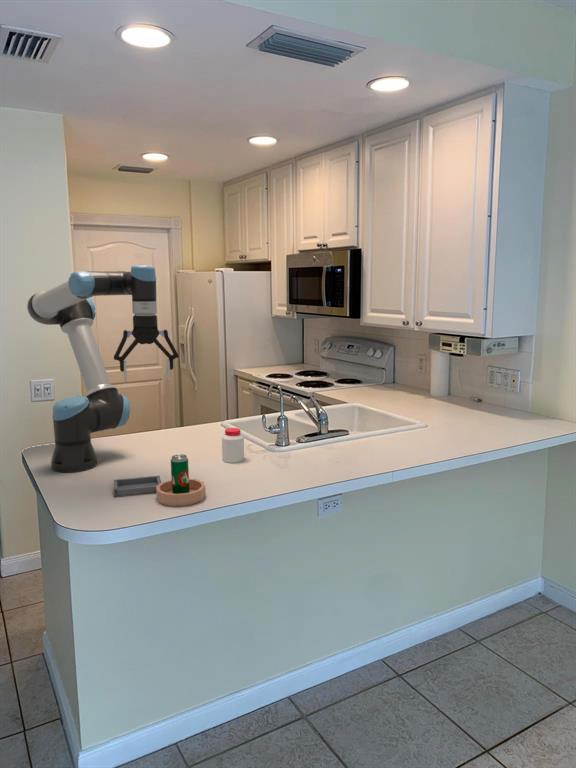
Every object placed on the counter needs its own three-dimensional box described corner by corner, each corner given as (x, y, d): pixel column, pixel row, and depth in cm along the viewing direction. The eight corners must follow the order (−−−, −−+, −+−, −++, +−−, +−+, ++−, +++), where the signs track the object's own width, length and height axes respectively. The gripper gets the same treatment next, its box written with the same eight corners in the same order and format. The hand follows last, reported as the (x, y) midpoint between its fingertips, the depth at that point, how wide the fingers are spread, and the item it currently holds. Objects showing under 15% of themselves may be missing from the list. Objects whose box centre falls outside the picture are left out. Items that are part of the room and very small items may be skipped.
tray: (114, 496, 177) (114, 490, 176) (114, 485, 186) (113, 479, 186) (162, 492, 181) (162, 485, 180) (159, 481, 190) (159, 475, 190)
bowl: (158, 508, 168) (158, 497, 167) (155, 491, 181) (154, 481, 180) (208, 503, 172) (208, 491, 171) (201, 487, 185) (201, 476, 184)
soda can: (173, 492, 179) (171, 454, 176) (190, 491, 179) (188, 453, 177) (171, 498, 174) (169, 459, 171) (188, 498, 174) (187, 458, 172)
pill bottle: (247, 457, 215) (247, 428, 213) (238, 463, 208) (238, 433, 206) (227, 455, 217) (227, 426, 216) (218, 461, 210) (218, 431, 208)
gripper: (103, 316, 182) (107, 384, 186) (185, 315, 189) (187, 380, 193) (104, 314, 189) (107, 380, 193) (183, 313, 196) (184, 376, 200)
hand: (147, 380), depth 193 cm, fingers open, 13 cm apart
